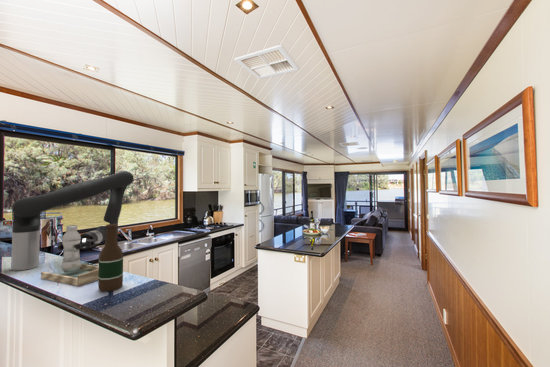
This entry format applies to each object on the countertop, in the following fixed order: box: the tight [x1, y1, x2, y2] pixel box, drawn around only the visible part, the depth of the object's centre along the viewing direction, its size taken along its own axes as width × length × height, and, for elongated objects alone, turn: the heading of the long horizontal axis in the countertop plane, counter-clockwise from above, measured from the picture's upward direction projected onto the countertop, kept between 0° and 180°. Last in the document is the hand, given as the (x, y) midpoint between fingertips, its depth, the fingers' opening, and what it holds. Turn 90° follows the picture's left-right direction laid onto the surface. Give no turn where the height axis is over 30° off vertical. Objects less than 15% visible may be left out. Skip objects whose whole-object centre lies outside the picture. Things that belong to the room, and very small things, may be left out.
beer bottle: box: [97, 223, 124, 293], centre depth 94 cm, size 8×8×24 cm
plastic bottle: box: [61, 224, 82, 273], centre depth 108 cm, size 6×7×20 cm
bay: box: [40, 263, 99, 287], centre depth 106 cm, size 24×14×4 cm, turn 70°
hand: (67, 247), depth 106 cm, fingers closed on plastic bottle, 6 cm apart
